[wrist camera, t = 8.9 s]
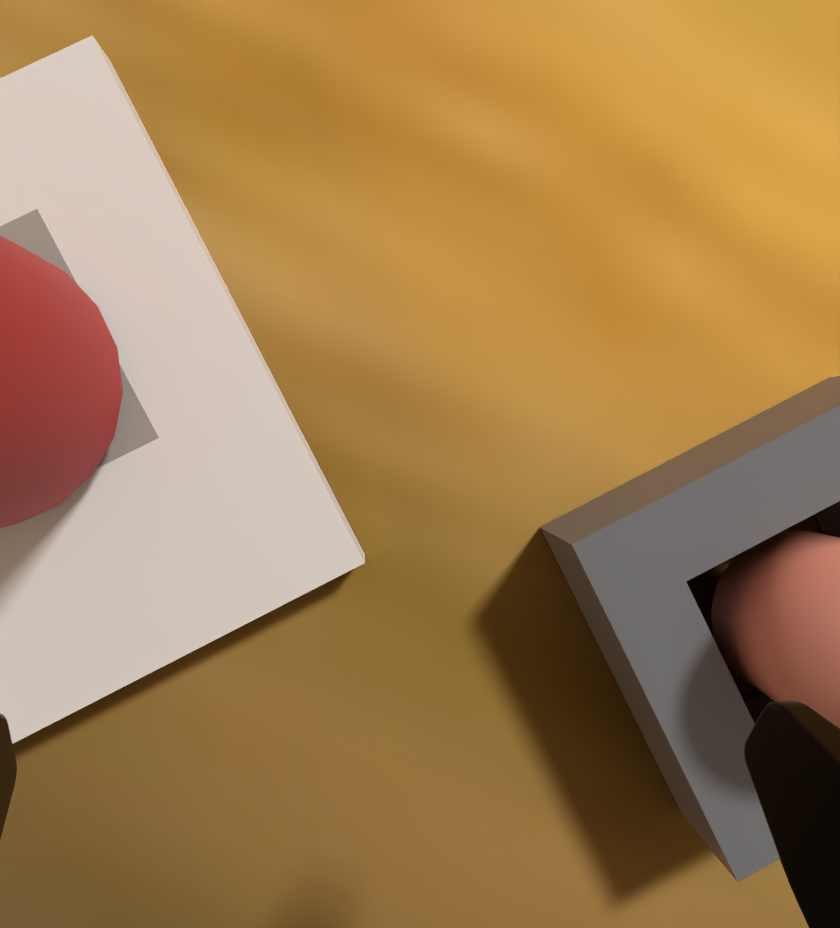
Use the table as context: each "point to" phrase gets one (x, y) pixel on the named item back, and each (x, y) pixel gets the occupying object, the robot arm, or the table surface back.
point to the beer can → (50, 385)
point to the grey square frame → (674, 608)
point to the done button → (784, 619)
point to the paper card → (145, 420)
